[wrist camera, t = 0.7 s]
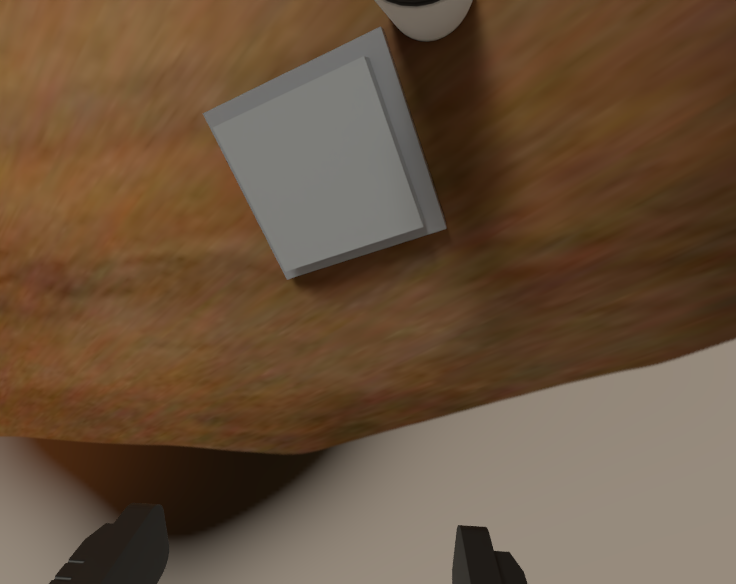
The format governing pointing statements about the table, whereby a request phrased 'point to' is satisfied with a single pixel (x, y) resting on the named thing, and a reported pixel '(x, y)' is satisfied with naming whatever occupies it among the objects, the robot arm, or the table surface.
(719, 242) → the table surface
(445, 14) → the travel mug
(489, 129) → the table surface
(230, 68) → the table surface
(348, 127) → the slate plinth
